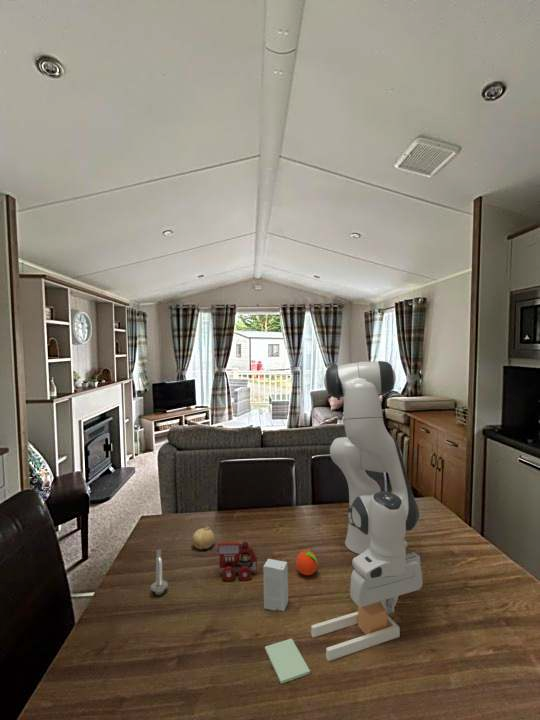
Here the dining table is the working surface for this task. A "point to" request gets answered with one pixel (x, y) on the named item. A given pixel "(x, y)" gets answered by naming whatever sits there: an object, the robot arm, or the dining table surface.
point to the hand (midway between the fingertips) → (387, 612)
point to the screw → (159, 576)
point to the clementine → (306, 563)
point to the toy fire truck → (236, 560)
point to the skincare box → (275, 584)
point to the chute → (357, 643)
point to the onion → (203, 538)
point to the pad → (287, 660)
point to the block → (372, 618)
